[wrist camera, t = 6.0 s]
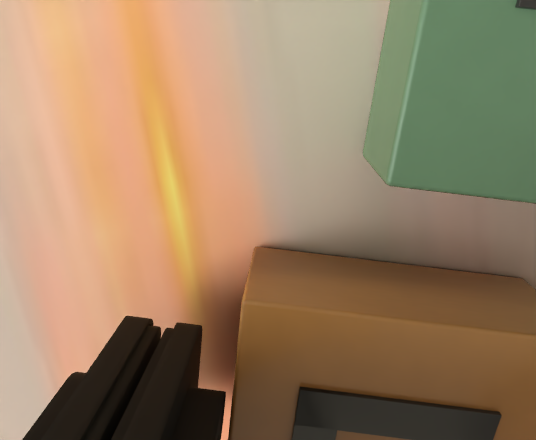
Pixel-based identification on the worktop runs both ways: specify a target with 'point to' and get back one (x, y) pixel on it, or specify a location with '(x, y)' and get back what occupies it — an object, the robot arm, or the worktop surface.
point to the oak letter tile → (382, 352)
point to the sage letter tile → (457, 98)
